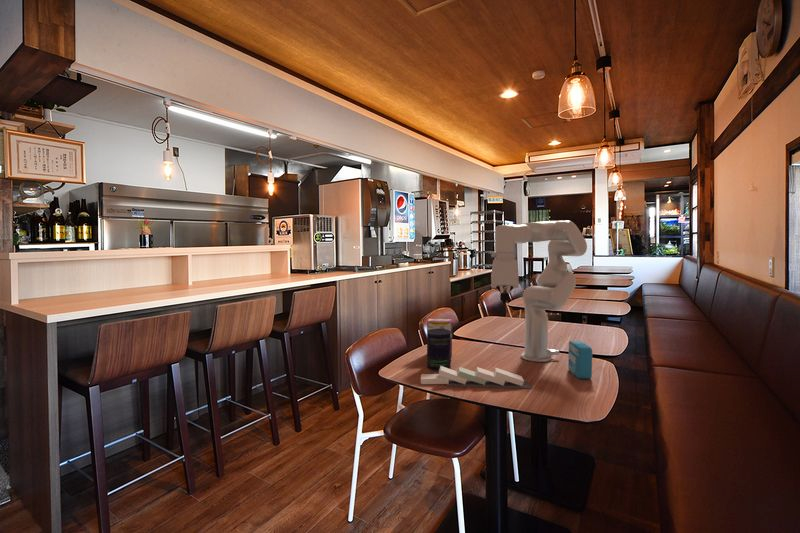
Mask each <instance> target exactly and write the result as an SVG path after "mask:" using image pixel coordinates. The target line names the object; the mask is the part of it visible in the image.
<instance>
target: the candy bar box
mask: <svg viewBox="0 0 800 533" xmlns="http://www.w3.org/2000/svg"><path fill="white" fill-rule="evenodd" d="M426 323H427V324H426V326H427V328H426V332H427V331H428V330H431V329H446V330H449V331H451V334H450V335H451V345H450V354H451V358H452V355H453V352H452V351H453V349H452V348H453V319H448V318H446V319H445V318H444V319H443V318H427V322H426ZM427 354H428V345H427V344H426V355H427Z"/></svg>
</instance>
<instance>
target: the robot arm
mask: <svg viewBox="0 0 800 533" xmlns="http://www.w3.org/2000/svg"><path fill="white" fill-rule="evenodd" d="M494 229H495V230H494V232H495V235H494V236H495V237H494V242H495V243H494V246H495V247H494V252H493V253H491V258H494V259H493V261H492V266H491V278H490V279H491V280H490V281H491V284H490V287H491V288H492V289H496V290H498V291H499V292H500V297H499V298H500V301H501V303H502V304H507V303H508V302H509V296H510V292H511V291H512V290H513V289H518V288H519V278H520V277H519V276H520V275H519V264H518V261H517V259H516V257H515V256H516V255H515V254H516V253H515V252H516V251H515V250H516V249H515V248H516V244H526V243H540V242H547V241H549V242H548V245H547V252H548V263H547V265H546V266H545V268H544V269H543V270H542V271H541V273H540V274H539V276H538V278H537V280H536V284H537V285H531V286H528V287H526V288H525V289H524V290H523V293H522V300H523V305H524V317H525V318H524V351H523V352H522V353H521V354H520V358H522V359H524V360H526V361H529V362H533V363H543V362H544V363H545V362H550V361H551V360H552V356H553V355H554V356H560V350H556V349H549V346H548V345H549V316H548V314H547V312H546V310H547V311H552V312H553V311H554V312H555V311H557V312H558V311H560V310H562V309H563V308H564V306H565V305H566V303H567V302H568V300H569V299H570V297H571V296H572V294H573V292H574V290H575V289H576V285H577V279H576V276H575V274H574V273H573V272H570V271H568V266H567V263H566V261H565V259H564V258H563V257H582V256H583V255H585V254H586V252H587V249H588V244H587V241H586V238H585V237H584V236H583V234H582V232H581V231H580V229H579V227H578V226H577V224H575V223H574V222H573V221H571V220H548V221H547V220H545V221H535V222H533V221H532V222H525V223H524V222H523V223H516V224H501V225H500V224H499V225H497V226H496V227H495V228H494ZM504 286H505V290H504Z"/></svg>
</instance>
